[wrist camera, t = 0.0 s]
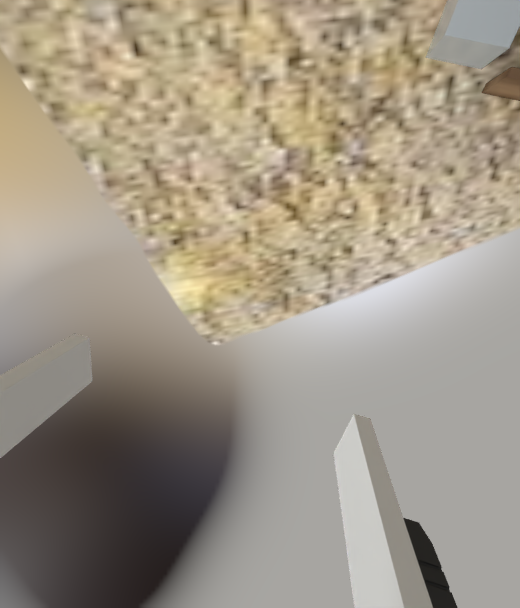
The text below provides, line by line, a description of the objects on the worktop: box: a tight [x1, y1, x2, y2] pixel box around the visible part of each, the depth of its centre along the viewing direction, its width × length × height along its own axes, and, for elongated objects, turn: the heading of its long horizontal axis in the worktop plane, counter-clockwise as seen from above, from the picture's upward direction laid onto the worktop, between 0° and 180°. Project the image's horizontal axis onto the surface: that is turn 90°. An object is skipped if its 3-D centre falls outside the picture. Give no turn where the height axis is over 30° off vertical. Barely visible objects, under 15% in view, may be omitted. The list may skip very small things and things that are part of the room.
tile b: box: [426, 0, 520, 69], centre depth 24 cm, size 6×6×4 cm
